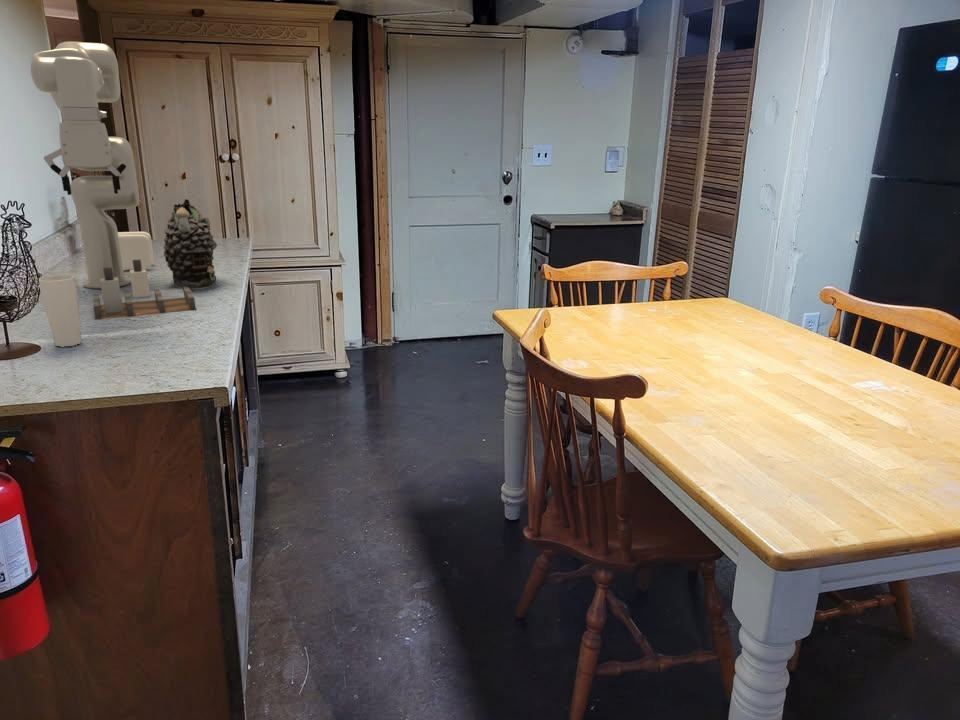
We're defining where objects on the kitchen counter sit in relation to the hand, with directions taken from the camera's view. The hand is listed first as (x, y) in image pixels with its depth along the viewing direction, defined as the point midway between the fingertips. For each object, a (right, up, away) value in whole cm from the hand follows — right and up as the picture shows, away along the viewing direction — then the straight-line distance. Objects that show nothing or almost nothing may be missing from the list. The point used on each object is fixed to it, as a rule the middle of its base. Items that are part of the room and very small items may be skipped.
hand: (93, 193), depth 163 cm
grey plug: (-3, -26, +14) cm, 30 cm away
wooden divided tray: (+4, -26, +18) cm, 32 cm away
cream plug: (-3, -22, +30) cm, 38 cm away
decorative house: (+4, -16, +49) cm, 52 cm away
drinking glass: (0, -36, -9) cm, 37 cm away
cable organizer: (-27, -9, +70) cm, 75 cm away
